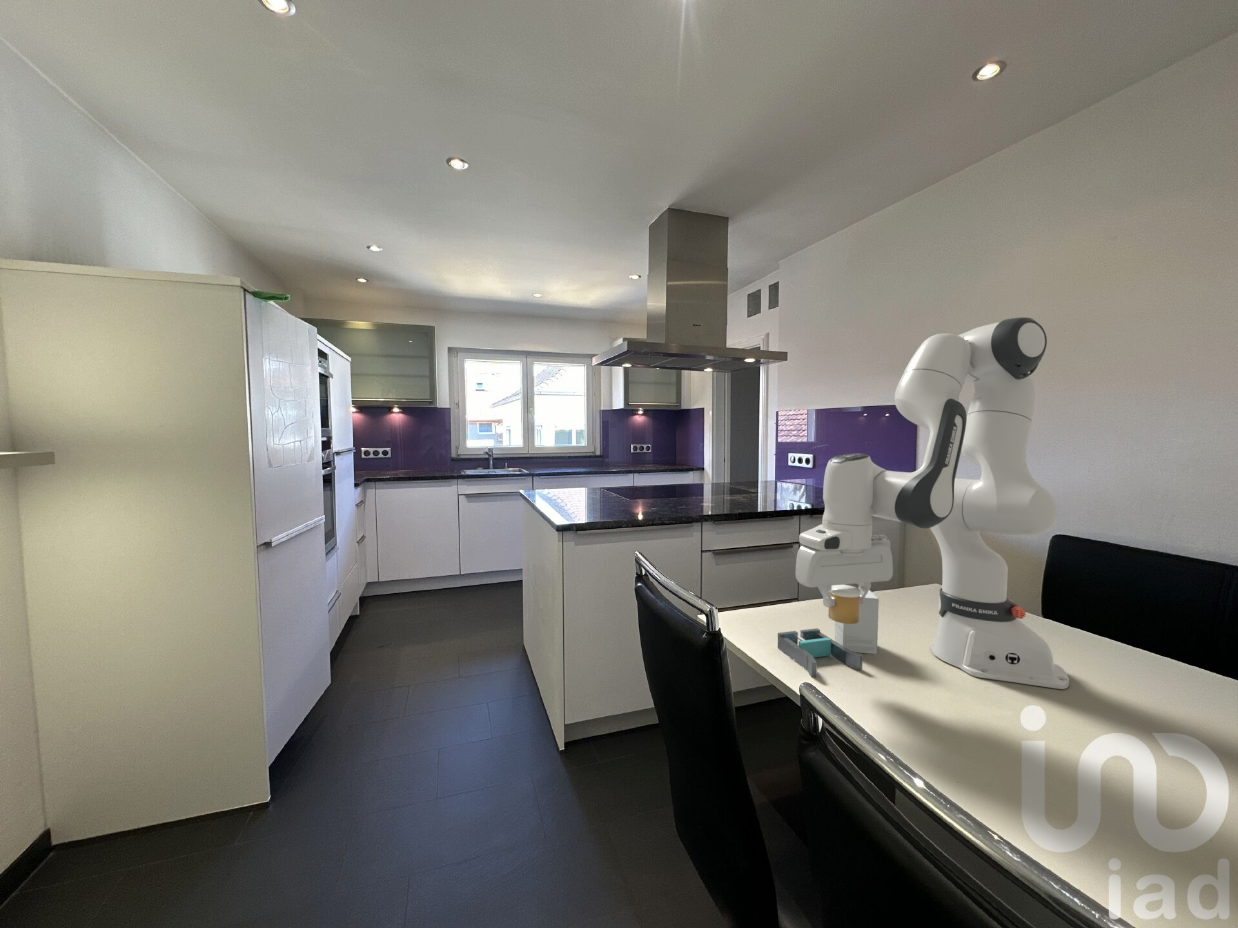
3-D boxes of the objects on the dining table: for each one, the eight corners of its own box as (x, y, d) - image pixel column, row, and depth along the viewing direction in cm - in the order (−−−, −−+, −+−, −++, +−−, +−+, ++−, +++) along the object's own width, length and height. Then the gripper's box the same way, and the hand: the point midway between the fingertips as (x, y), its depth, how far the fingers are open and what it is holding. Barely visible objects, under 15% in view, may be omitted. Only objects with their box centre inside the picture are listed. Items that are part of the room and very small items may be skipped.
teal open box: (830, 654, 102) (831, 639, 101) (801, 658, 100) (801, 643, 100) (808, 640, 109) (809, 625, 109) (780, 643, 107) (781, 629, 107)
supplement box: (878, 654, 103) (880, 598, 102) (842, 651, 104) (843, 596, 103) (867, 640, 110) (869, 587, 109) (833, 637, 111) (835, 585, 111)
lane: (863, 670, 96) (863, 653, 95) (812, 677, 93) (812, 660, 92) (820, 642, 109) (820, 627, 108) (774, 648, 106) (774, 633, 105)
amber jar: (860, 616, 93) (861, 587, 93) (858, 626, 88) (859, 595, 88) (829, 610, 96) (830, 582, 96) (826, 620, 91) (827, 590, 91)
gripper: (877, 530, 97) (875, 595, 98) (791, 535, 92) (790, 603, 93) (902, 536, 91) (900, 605, 92) (812, 542, 86) (810, 615, 87)
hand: (843, 604), depth 92 cm, fingers closed on amber jar, 5 cm apart
